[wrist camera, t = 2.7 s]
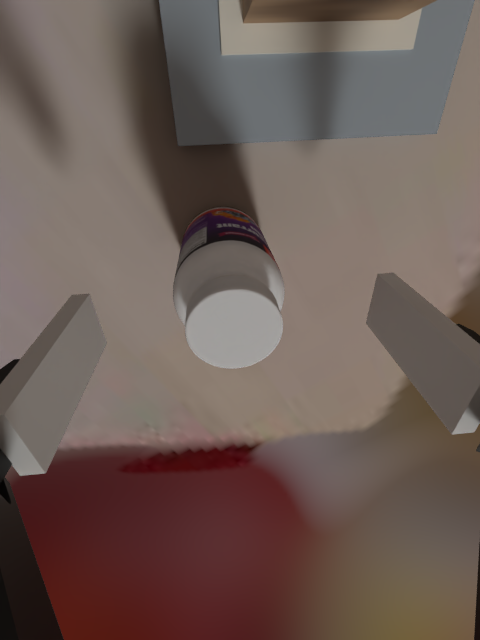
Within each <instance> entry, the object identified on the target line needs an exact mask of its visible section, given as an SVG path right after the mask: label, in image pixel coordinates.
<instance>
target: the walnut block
mask: <svg viewBox="0 0 480 640" xmlns="http://www.w3.org/2000/svg"><path fill="white" fill-rule="evenodd" d="M435 1H437V0H243V24H244V23H286V22H327V21H368V20H399V19H401V18H403V17H405V16H407V15H409V14H411V13H413V12H415V11H417V10H419V9H421V8H423V7H425V6H427V5H429V4H431V3H433V2H435Z"/></svg>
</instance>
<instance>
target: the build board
mask: <svg viewBox="0 0 480 640" xmlns="http://www.w3.org/2000/svg"><path fill="white" fill-rule="evenodd" d="M474 1H475V0H437V1H435V2H433V3H431V4H429V5H427V6H425V7H423V8H421V9H419V10H417V11H415V12H413V13H411V14H409V15H407V16H405V17H403V18H401V19H399V20H368V21H327V22H286V23H244V24H243V0H159V5H160V13H161V20H162V28H163V35H164V43H165V51H166V58H167V66H168V74H169V81H170V89H171V96H172V104H173V112H174V119H175V127H176V135H177V142H178V146H192V145H213V144H234V143H255V142H275V141H296V140H317V139H338V138H359V137H380V136H401V135H422V134H437V131H438V127H439V124H440V120H441V117H442V113H443V110H444V106H445V103H446V99H447V96H448V92H449V89H450V85H451V82H452V78H453V75H454V71H455V67H456V64H457V60H458V57H459V53H460V50H461V46H462V43H463V39H464V36H465V32H466V29H467V25H468V22H469V18H470V15H471V11H472V8H473V4H474Z"/></svg>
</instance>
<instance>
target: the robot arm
mask: <svg viewBox="0 0 480 640" xmlns="http://www.w3.org/2000/svg"><path fill="white" fill-rule="evenodd" d="M366 324H367V325H368V326H369V328H370V329H371V330H372V332H373V333H374V334H375V335H376V337H377V338H378V339H379V341H380V342H381V343H382V345H383V346H384V347H385V348H386V350H387V351H388V352H389V354H390V355H391V356H392V358H393V359H394V360H395V361H396V363H397V364H398V365H399V367H400V368H401V369H402V370H403V372H404V373H405V374H406V376H407V377H408V378H409V380H410V381H411V382H412V383H413V385H414V386H415V387H416V389H417V390H418V391H419V393H420V394H421V395H422V396H423V398H424V399H425V400H426V402H427V403H428V404H429V406H430V407H431V408H432V409H433V411H434V412H435V413H436V415H437V416H438V417H439V418H440V420H441V421H442V422H443V424H444V425H445V426H446V428H447V429H448V430H449V432H450V433H451V434H461V433H471V432H474V431H475V430H476V428H477V426H478V425H479V423H480V336H479V335H478V334H477V333H476V332H474V331H473V330H471V329H468V328H466V327H464V326H462V325H460V324H455V323H454V322H452V321H451V320H450V319H449V318H448V317H446V316H445V315H444V314H443V313H441V312H440V311H439V310H438V309H437V308H435V307H434V306H433V305H432V304H431V303H429V302H428V301H427V300H426V299H425V298H423V297H422V296H421V295H420V294H419V293H417V292H416V291H415V290H414V289H412V288H411V287H410V286H409V285H408V284H406V283H405V282H404V281H403V280H402V279H400V278H399V277H398V276H397V275H396V274H394V273H384V274H377V278H376V283H375V287H374V291H373V295H372V299H371V304H370V308H369V312H368V316H367V321H366ZM106 344H107V341H106V339H105V336H104V333H103V330H102V327H101V324H100V322H99V319H98V316H97V313H96V310H95V307H94V305H93V302H92V299H91V296H90V294H78V295H72V296H71V297H70V298H69V299H68V301H67V302H66V303H65V304H64V306H63V307H62V308H61V309H60V311H59V312H58V313H57V314H56V315H55V317H54V318H53V319H52V320H51V322H50V323H49V324H48V325H47V327H46V328H45V329H44V330H43V332H42V333H41V334H40V335H39V337H38V338H37V339H36V340H35V342H34V343H33V344H32V345H31V347H30V348H29V349H28V350H27V352H26V353H25V354H24V355H23V357H22V358H21V359H15V360H13V361H11V362H10V363H8V364H7V365H6V366H4V367H3V368H1V369H0V640H64V639H63V636H62V633H61V630H60V627H59V625H58V622H57V619H56V616H55V613H54V610H53V607H52V604H51V601H50V599H49V596H48V593H47V590H46V587H45V584H44V581H43V578H42V576H41V573H40V570H39V567H38V564H37V561H36V558H35V555H34V552H33V549H32V547H31V544H30V541H29V538H28V535H27V532H26V529H25V526H24V524H23V521H22V518H21V515H20V512H19V509H18V506H17V503H16V500H15V497H14V495H13V492H12V489H11V486H10V483H9V482H8V481H7V479H6V478H5V475H6V474H7V472H8V470H9V469H10V467H11V465H12V466H13V467H14V468H15V470H16V471H17V472H18V473H19V475H20V476H21V475H32V474H43V473H46V471H47V469H48V467H49V465H50V463H51V461H52V459H53V456H54V454H55V452H56V450H57V448H58V446H59V444H60V442H61V439H62V437H63V435H64V433H65V431H66V429H67V427H68V425H69V422H70V420H71V418H72V416H73V414H74V412H75V410H76V408H77V405H78V403H79V401H80V399H81V397H82V395H83V393H84V391H85V389H86V386H87V384H88V382H89V380H90V378H91V376H92V374H93V372H94V369H95V367H96V365H97V363H98V361H99V359H100V357H101V355H102V352H103V350H104V348H105V346H106ZM476 451H478V452H480V444H479V446H478V447H477V450H476ZM477 582H478V583H477V600H476V617H475V635H474V640H480V544H479V562H478V581H477Z"/></svg>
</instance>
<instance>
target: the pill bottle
mask: <svg viewBox="0 0 480 640" xmlns="http://www.w3.org/2000/svg"><path fill="white" fill-rule="evenodd" d="M173 301H174V306H175V309H176V312H177V314H178V316H179V318H180V320H181V321H182V322H183V324H184V325H185V335H186V340H187V342H188V345H189V346H190V348H191V350H192V351H193V352H194V353H195V354H196V355H197V356H198V357H199V358H200V359H201V360H203V361H204V362H206V363H208V364H211V365H213V366H217V367H221V368H242V367H246V366H250V365H253V364H255V363H257V362H259V361H261V360H263V359H264V358H266V357H267V356H268V355H269V354H270V353H271V352H272V351H273V350H274V349H275V348H276V346H277V345H278V343H279V341H280V339H281V336H282V331H283V320H282V315H281V313H280V311H281V308H282V305H283V301H284V282H283V278H282V275H281V272H280V270H279V267H278V265H277V263H276V261H275V259H274V257H273V255H272V253H271V251H270V249H269V247H268V244H267V242H266V240H265V238H264V236H263V234H262V232H261V230H260V228H259V227H258V225H257V224H256V223H255V221H254V220H253V219H252V218H251V217H249V216H248V215H247V214H245V213H243V212H242V211H239V210H237V209H234V208H229V207H217V208H212V209H209V210H206V211H204V212H202V213H201V214H199V215H198V216H197V217H196V218H194V219H193V221H192V222H191V223H190V224H189V226H188V227H187V229H186V231H185V234H184V237H183V240H182V245H181V250H180V254H179V260H178V264H177V270H176V274H175V279H174V285H173Z"/></svg>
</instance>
